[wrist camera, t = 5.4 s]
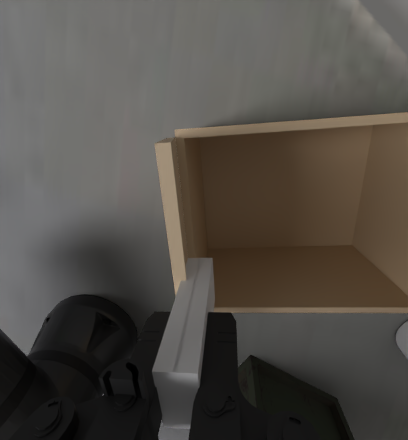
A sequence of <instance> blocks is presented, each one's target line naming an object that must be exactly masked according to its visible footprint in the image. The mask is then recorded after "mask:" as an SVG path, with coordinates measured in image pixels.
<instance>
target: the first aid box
mask: <svg viewBox="0 0 408 440" xmlns="http://www.w3.org/2000/svg"><path fill="white" fill-rule="evenodd" d="M238 382H239V387H240V390H241V392H242V394H243V396H244V397H245V398H246V400H247V401H248V402H249V403H250V404H252V405H253V406H255V407H256V408H258V409H260V410H262V411H265V412H267V413H269V414H271V415H274V414H276V413H278V412H280V411H293V412H295V413H297V414H300V415H302V416H303V417H304V418H305V419H307V420H308V421H309V422H310V423H311V424H312V426H313V427H314V429H315V430H316V431H317V433H318V434H319V436H320V439H321V440H354V438H353V435H352V433H351V431H350V428H349V426H348V423H347V421H346V419H345V416H344V414H343V412H342V409H341V407H340V404H339V402H338V400H337V398H335V397H333V396H331V395H329V394H327V393H325V392H323V391H321V390H319V389H317V388H315V387H313V386H311V385H309V384H307V383H305V382H303V381H301V380H299V379H297V378H295V377H293V376H291V375H289V374H287V373H285V372H283V371H281V370H279V369H277V368H275V367H273V366H271V365H269V364H267V363H266V362H264V361H262V360H260V359H258V358H256V357H254V356H252V355H250V356H249V357H248V358H247V359H246V360H245V361H244V362H243V363H242V364H241V366H240V367H239V368H238Z"/></svg>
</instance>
